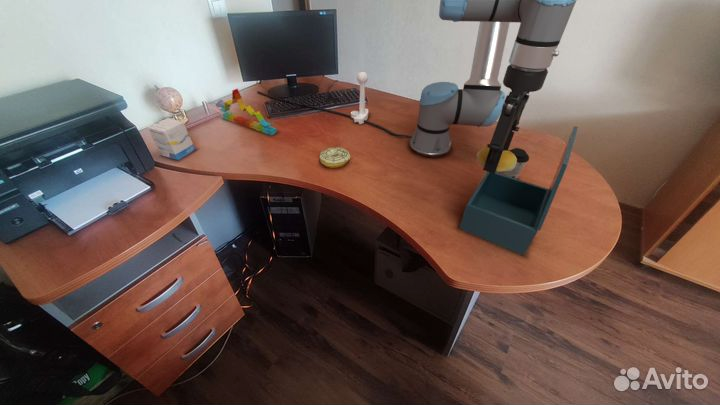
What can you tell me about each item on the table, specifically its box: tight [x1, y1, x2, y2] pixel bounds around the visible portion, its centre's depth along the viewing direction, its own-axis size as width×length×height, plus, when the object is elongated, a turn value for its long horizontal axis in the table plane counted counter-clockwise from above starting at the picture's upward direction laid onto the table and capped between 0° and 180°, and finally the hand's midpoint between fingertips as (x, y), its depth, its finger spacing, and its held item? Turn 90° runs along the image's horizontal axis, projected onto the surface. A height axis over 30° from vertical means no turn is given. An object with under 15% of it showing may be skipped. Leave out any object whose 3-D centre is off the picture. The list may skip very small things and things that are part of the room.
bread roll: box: [476, 145, 517, 173], centre depth 72 cm, size 8×9×4 cm
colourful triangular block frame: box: [220, 88, 278, 136], centre depth 123 cm, size 30×3×15 cm, turn 58°
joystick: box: [350, 71, 369, 125], centre depth 126 cm, size 11×8×20 cm
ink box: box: [147, 117, 196, 161], centre depth 107 cm, size 9×8×12 cm
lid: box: [536, 125, 579, 231], centre depth 68 cm, size 18×19×1 cm
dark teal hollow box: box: [458, 171, 549, 256], centre depth 80 cm, size 17×19×9 cm
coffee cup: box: [501, 147, 530, 179], centre depth 94 cm, size 7×7×10 cm
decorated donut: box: [319, 146, 351, 169], centre depth 105 cm, size 10×11×4 cm
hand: (495, 162), depth 73 cm, fingers closed on bread roll, 9 cm apart
